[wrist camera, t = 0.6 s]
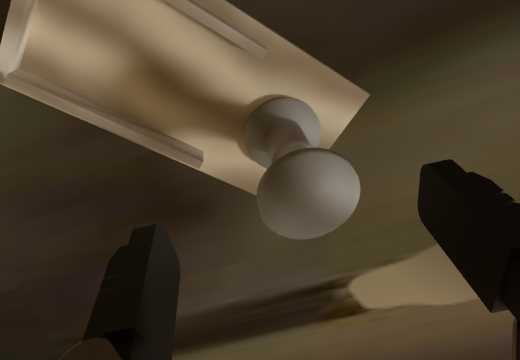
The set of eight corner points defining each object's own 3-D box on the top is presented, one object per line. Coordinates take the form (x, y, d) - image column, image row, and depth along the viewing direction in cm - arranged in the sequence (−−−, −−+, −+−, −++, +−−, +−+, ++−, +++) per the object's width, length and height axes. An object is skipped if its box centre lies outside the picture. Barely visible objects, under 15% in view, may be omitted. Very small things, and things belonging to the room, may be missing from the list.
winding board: (58, -110, 23) (-61, -164, 13) (363, 89, 33) (433, 148, 23) (8, 77, 29) (-102, 143, 18) (282, 199, 38) (308, 286, 28)
